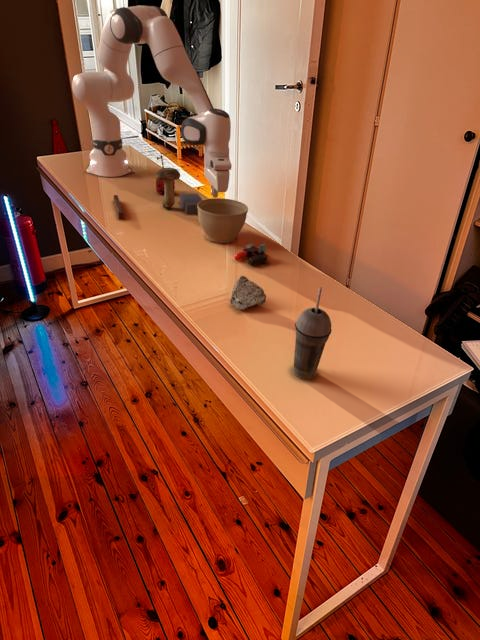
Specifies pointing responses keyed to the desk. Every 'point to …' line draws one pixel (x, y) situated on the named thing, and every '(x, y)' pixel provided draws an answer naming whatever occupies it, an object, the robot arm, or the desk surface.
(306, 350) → the beverage cup
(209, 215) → the planter bowl
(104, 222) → the desk surface
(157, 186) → the red clay folk toy
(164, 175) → the mushroom
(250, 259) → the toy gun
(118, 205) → the ledge
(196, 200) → the block
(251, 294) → the rock sample
